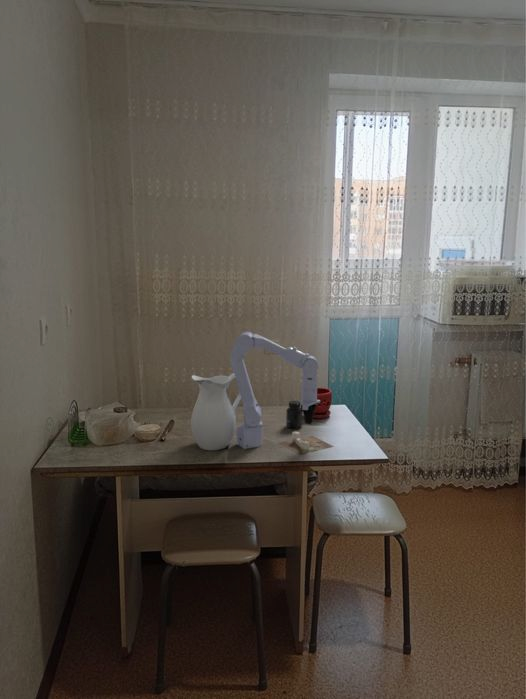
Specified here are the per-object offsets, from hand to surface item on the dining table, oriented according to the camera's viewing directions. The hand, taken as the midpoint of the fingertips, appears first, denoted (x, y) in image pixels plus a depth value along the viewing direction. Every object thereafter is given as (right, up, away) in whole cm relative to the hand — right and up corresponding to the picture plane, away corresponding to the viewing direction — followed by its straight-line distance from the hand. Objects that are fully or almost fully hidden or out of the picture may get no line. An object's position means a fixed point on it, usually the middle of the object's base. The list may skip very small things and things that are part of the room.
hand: (308, 423), depth 199 cm
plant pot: (+7, -3, +43) cm, 43 cm away
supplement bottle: (-4, -6, +23) cm, 24 cm away
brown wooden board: (-1, -10, +2) cm, 10 cm away
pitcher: (-33, -9, +6) cm, 35 cm away
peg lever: (-3, -8, 0) cm, 9 cm away
